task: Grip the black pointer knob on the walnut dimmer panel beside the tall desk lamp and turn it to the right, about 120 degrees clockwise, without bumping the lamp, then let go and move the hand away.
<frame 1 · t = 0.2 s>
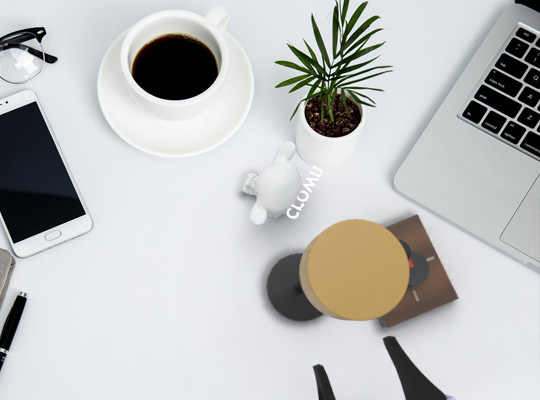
hand: (353, 351, 61), 22 cm above the table, tool horizontal, fingers open, 7 cm apart
desk lamp: (299, 287, 83), on the table
dial knob: (407, 268, 78), point 5 cm above the table, hinge at 0.0°
dial panel: (396, 271, 83), on the table
figurine: (274, 195, 86), on the table
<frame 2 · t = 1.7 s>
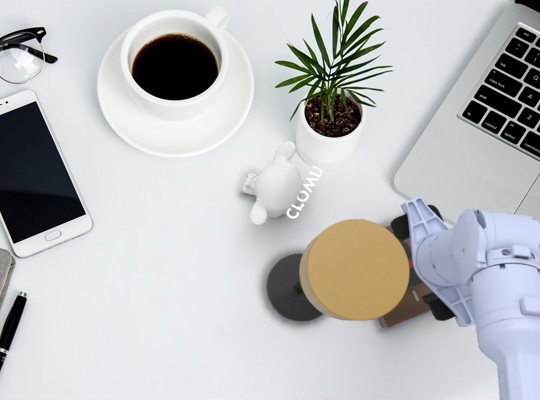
hand: (416, 266, 75), 8 cm above the table, tool pointing down, fingers open, 7 cm apart
nothing on the table moved.
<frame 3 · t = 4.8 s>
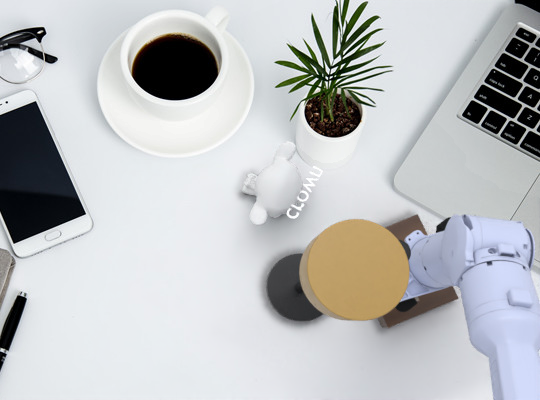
hand: (409, 268, 78), 6 cm above the table, tool pointing down, fingers open, 7 cm apart
nothing on the table moved.
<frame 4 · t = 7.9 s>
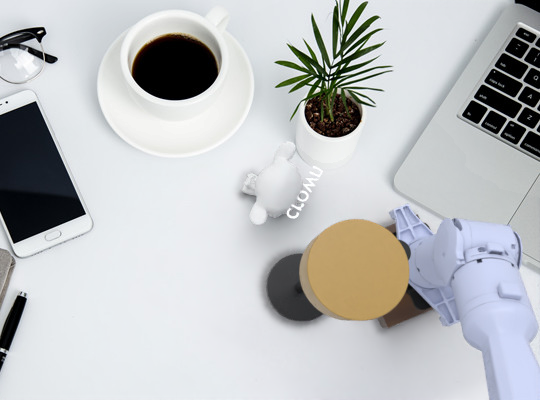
hand: (404, 269, 80), 4 cm above the table, tool pointing down, fingers closed on dial knob, 4 cm apart
dial knob: (407, 268, 78), point 5 cm above the table, hinge at -0.1°, touching gripper
everything else where it was.
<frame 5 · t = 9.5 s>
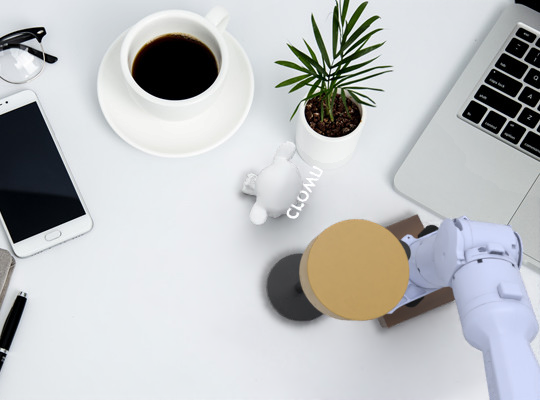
hand: (404, 269, 80), 4 cm above the table, tool pointing down, fingers closed on dial knob, 4 cm apart
dial knob: (407, 268, 78), point 5 cm above the table, hinge at -67.2°, touching gripper
everything else where it was.
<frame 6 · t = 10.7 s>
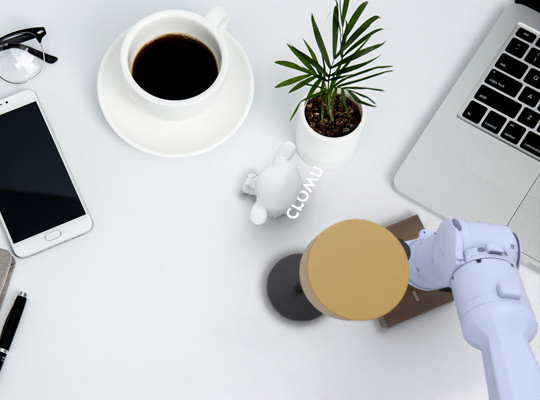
hand: (404, 269, 80), 3 cm above the table, tool pointing down, fingers closed on dial knob, 4 cm apart
dial knob: (407, 268, 78), point 5 cm above the table, hinge at -118.4°, touching gripper
everything else where it was.
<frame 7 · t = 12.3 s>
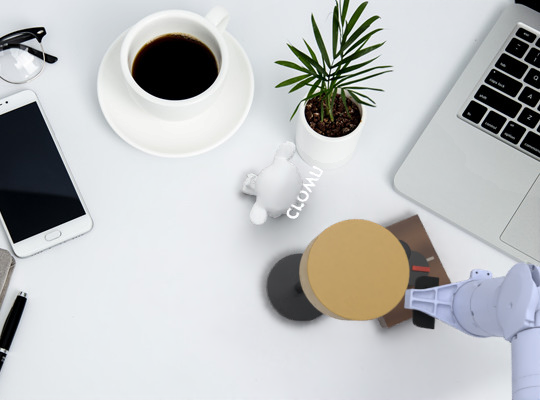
hand: (448, 309, 73), 9 cm above the table, tool pointing down, fingers open, 7 cm apart
dial knob: (407, 268, 78), point 5 cm above the table, hinge at -118.5°
everything else where it was.
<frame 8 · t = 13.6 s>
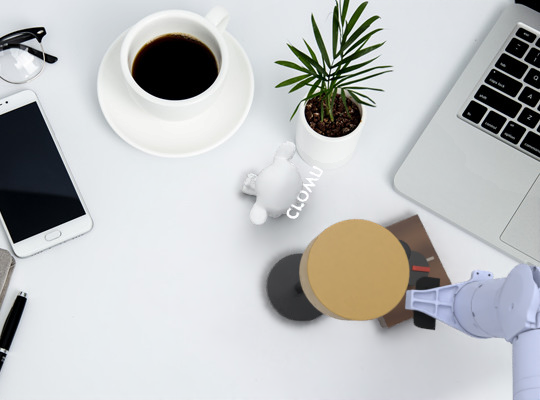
hand: (449, 309, 73), 9 cm above the table, tool pointing down, fingers open, 7 cm apart
nothing on the table moved.
at the end: dial knob at -118° (first picture: +0°); desk lamp moved 0.0 cm from its start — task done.
